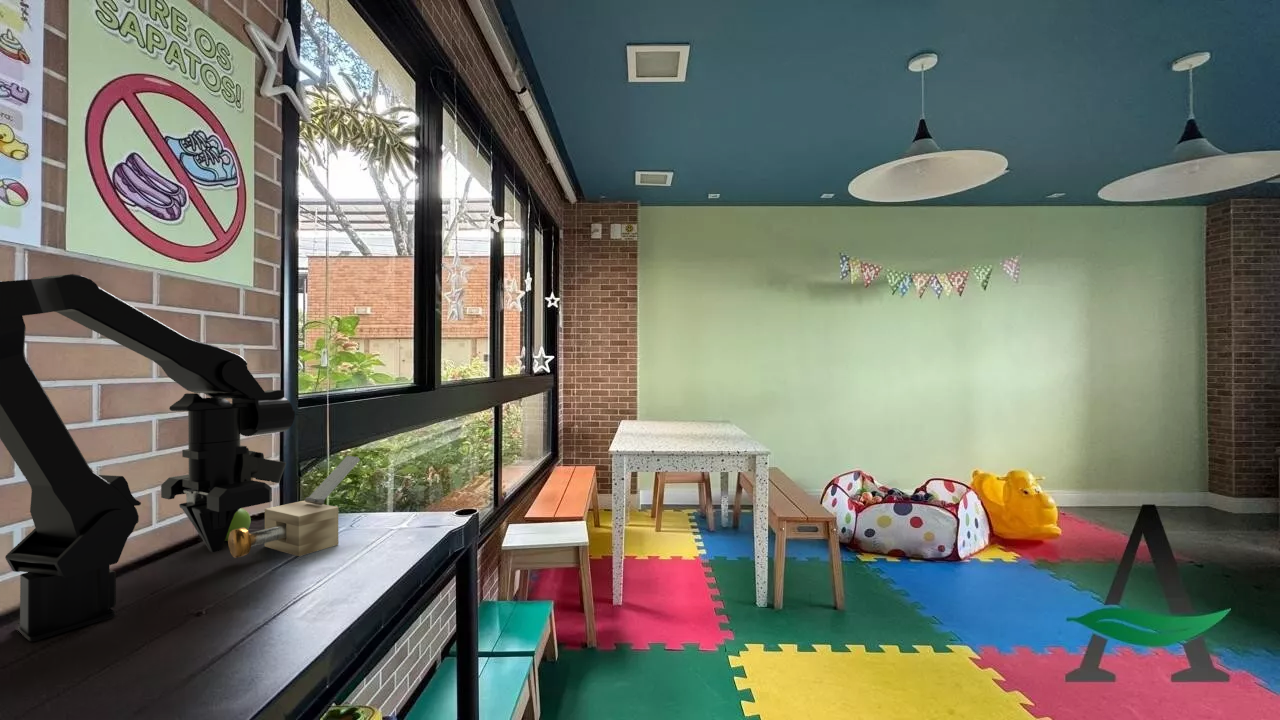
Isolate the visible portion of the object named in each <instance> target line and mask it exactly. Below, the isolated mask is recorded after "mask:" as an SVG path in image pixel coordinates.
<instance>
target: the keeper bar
mask: <svg viewBox="0 0 1280 720" xmlns="http://www.w3.org/2000/svg"><path fill="white" fill-rule="evenodd" d="M360 461H361V459H360V458H359V457H358V456H352V455H346V456H345V458H343V460H342V461H340V463H339V464H338V465H337V466H336V467H335V468H334V469H333V470H332V471H331V473H330V474H328V476H327V477H326V478H325V479H324V480H323V481H322V482H321V483H320V484H319V485H318V486H317V487H316V489H315V490H314V491H312V493H311V494H310V495H309V496H306V497H305V498H304V501H305V502H307V503H313V504H318V505H322V504H324V503H325V501H326V499H327V498H328V496H329V495H330V494H331V493H332V492H333V491H334V490H335V489H336V488H337V486H338V485H339V484H340V483H341V482H342V481H344V479H345V478H346V476H347V475H348V474H349V473H351V471H352V470H353V469H354V468H355V466H356V465H358V463H359V462H360Z"/></svg>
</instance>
